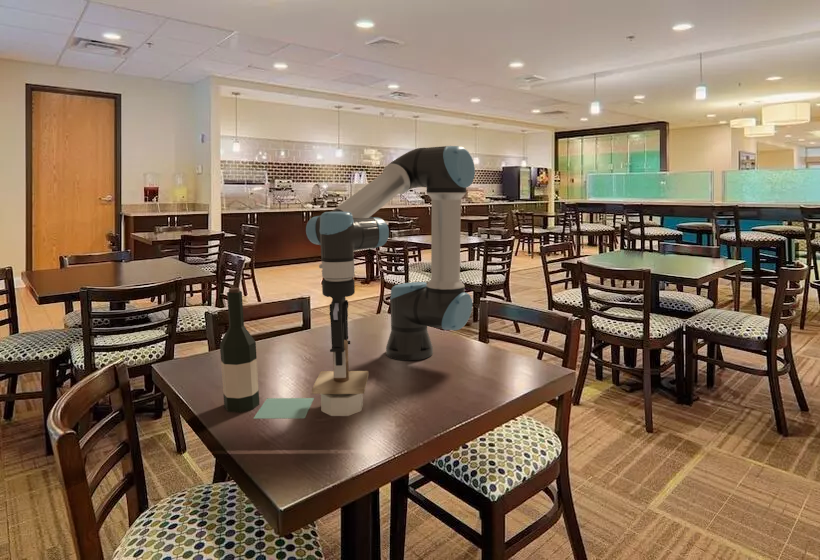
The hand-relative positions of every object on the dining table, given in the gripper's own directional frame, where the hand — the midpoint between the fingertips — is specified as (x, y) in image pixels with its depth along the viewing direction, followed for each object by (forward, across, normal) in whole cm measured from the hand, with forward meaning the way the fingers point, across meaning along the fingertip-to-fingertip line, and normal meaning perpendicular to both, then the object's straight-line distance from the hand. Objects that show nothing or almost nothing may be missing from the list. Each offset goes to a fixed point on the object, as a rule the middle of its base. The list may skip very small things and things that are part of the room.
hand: (341, 374), depth 129 cm
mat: (+9, 0, -14) cm, 17 cm away
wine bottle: (+9, -2, -25) cm, 27 cm away
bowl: (+9, 0, 0) cm, 9 cm away
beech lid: (+3, 0, 0) cm, 3 cm away
